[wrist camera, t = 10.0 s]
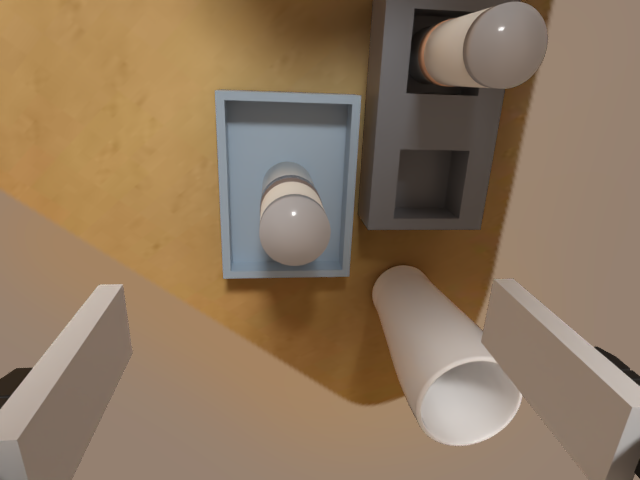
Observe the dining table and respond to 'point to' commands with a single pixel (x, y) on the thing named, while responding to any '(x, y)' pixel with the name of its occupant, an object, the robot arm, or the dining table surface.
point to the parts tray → (285, 146)
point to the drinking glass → (442, 361)
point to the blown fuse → (292, 216)
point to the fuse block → (423, 129)
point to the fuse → (481, 48)
